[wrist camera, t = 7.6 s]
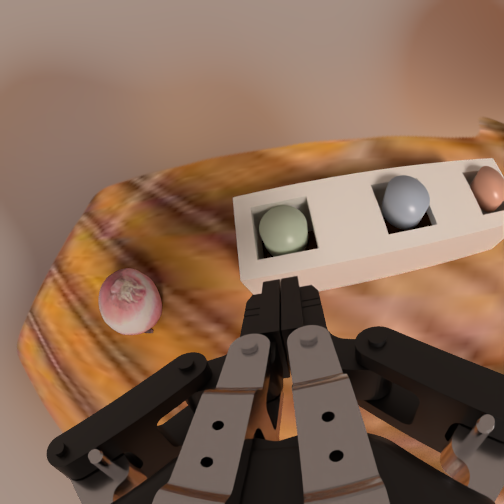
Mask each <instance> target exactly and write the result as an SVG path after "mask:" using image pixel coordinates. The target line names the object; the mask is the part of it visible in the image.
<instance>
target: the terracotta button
mask: <svg viewBox="0 0 504 504" xmlns="http://www.w3.org/2000/svg"><path fill="white" fill-rule="evenodd" d="M470 188H471V190H472V192H473V194H474V196H475V198H476V201H477V203H478V205H479V207H480V208H481V209H482V210H484V211H486V212H494V211H495V210H496V209H497V208H498V207H499V206H500V204H501V203H502V202H503V201H504V178H503V177H502V175H501V174H500V173H499V172H498V171H496V170H495V169H494V168H492V167H489V166H483V167H481V168H480V170H479V171H478V173H477V175H476V176H475V178H474V179H473V181H472V183H471V185H470Z"/></svg>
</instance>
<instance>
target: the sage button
mask: <svg viewBox="0 0 504 504" xmlns="http://www.w3.org/2000/svg"><path fill="white" fill-rule="evenodd" d="M259 232H260V235H261V238H262V240H263V242H264V244H265V246H266V249H267V250H268V252H269V253H270V254H271V255H272V256H274V257H276V256H281V255H286V254H291V253H297V252H302V251H304V250H305V248H306V247H307V244H308V229H307V221H306V218H305V216H304V215H303V214H302V212H300V211H299V210H298V209H296V208H294V207H291V206H278V207H275V208H272V209H270V210H269V211H268V212H267V213H265V215H264V216H263V217H262V219H261V221H260V225H259Z"/></svg>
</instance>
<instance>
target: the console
mask: <svg viewBox="0 0 504 504" xmlns="http://www.w3.org/2000/svg"><path fill="white" fill-rule="evenodd" d="M483 166H489V167H492V168H494V169H495V170H496V171H498V172H499V173H500V174H501V175H502V173H501V171H500V169H499V168H498V166H497V164H496V163H495V161H494V159H493V158H489V159H474V160H460V161H449V162H438V163H429V164H420V165H411V166H403V167H395V168H388V169H381V170H374V171H367V172H361V173H354V174H348V175H342V176H336V177H330V178H325V179H319V180H314V181H308V182H303V183H298V184H293V185H288V186H283V187H278V188H273V189H268V190H264V191H259V192H254V193H250V194H246V195H241V196H237V197H233V206H234V217H235V227H236V238H237V249H238V259H239V269H240V279H241V282H242V283H243V284H244V285H245V286H246V287H247V288H248V289H249V290H250V291H251V292H252V293H253V294H254V295H255V294H261V293H262V285H263V282H265V281H271V280H277V279H280V281H281V279H282V278H288V277H293V276H298V281H299V286H300V287H302V286H307V285H312V286H314V287H315V288H316V289H317V290H318V291H323V290H328V289H333V288H338V287H343V286H348V285H353V284H357V283H362V282H367V281H371V280H376V279H380V278H385V277H389V276H393V275H397V274H402V273H406V272H410V271H414V270H418V269H422V268H426V267H430V266H434V265H437V264H441V263H445V262H449V261H452V260H456V259H459V258H463V257H466V256H470V255H473V254H477V253H480V252H483V251H487V250H490V249H492V248H493V247H495V246H496V245H497V244H498V243H499V242H501V241H502V240H503V239H504V201H503V202H502V203H501V204H500V206H499V207H498V208H497V209H496V210H495V211H494V212H486V211H484V210H482V209H481V208H480V207H479V205H478V203H477V201H476V198H475V196H474V194H473V192H472V190H471V188H470V185H471V183H472V181H473V179H474V178H475V176H476V175H477V173H478V171H479V170H480V168H481V167H483ZM400 175H406V176H411V177H413V178H415V179H417V180H418V181H420V182H421V183H422V184H423V185H424V186H425V188H426V189H427V191H428V193H429V197H430V204H429V207H428V209H427V214H428V216H429V219H430V221H431V224H432V226H428V227H423V228H418V229H413V230H408V231H403V232H398V233H393V234H388V231H387V228H386V225H385V222H384V219H383V217H384V215H383V213H382V208H381V205H382V201H383V198H384V195H385V191H386V188H387V185H388V183H389V181H390V180H391V179H392V178H394V177H396V176H400ZM502 177H503V175H502ZM503 178H504V177H503ZM278 206H291V207H294V208H296V209H298V210H299V211H300V212H302V214H303V215H304V216H305V218H306V221H307V229H308V231H313V230H314V233H315V238H316V242H317V247H318V248H317V249H312V250H307V251H302V252H297V253H291V254H286V255H281V256H276V257H270V258H265V259H264V254H263V246H262V238H261V235H260V232H259V225H260V221H261V219H262V217H263V216H264V215H265V213H267V212H268V211H269V210H270V209H272V208H275V207H278Z"/></svg>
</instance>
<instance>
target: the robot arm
mask: <svg viewBox="0 0 504 504" xmlns="http://www.w3.org/2000/svg"><path fill="white" fill-rule="evenodd" d="M290 371H291V375H292V382H293V385H292V392H293V400H294V408H295V417H296V425H297V434H298V435H297V436H294V437H291V438H288V439H284V440H281V441H279V431H280V423H281V415H282V406H283V397H284V393H283V378H288V377H290ZM184 401H186V403H187V404H188V406H187V407H185V408H184V409H183V410H182V411H180V412H179V413H178V414H176V415H175V416H174V417H172V418H171V419H170V420H168V421H167V422H166V423H164V424H163V425H160V426H157V423H158V421H159V420H160V419H161V418H162V417H164V416H165V415H166V414H168V413H169V412H170V411H172V410H173V409H174V408H176V407H177V406H178V405H180V404H181V403H182V402H184ZM358 405H359V406H360V407H362V408H364V409H365V410H367V411H368V412H370V413H372V414H373V415H375V416H376V417H378V418H380V419H381V420H383V421H385V422H386V423H388V424H390V425H391V426H393V427H395V428H397V429H398V430H400V431H402V432H404V433H405V434H407V435H409V436H411V437H412V438H414V439H416V440H418V441H420V442H421V443H423V444H425V445H427V446H429V447H431V448H433V449H434V450H436V451H438V452H440V453H441V456H440V463H441V466H442V468H443V470H444V471H445V472H447V473H448V474H449V475H450V476H451V477H452V478H451V477H449V476H447V475H446V474H444V473H442V472H440V471H439V470H437V469H435V468H434V467H432V466H430V465H428V464H427V463H425V462H424V461H422V460H420V459H419V458H417V457H415V456H414V455H412V454H411V453H409V452H407V451H406V450H404V449H403V448H401V447H400V446H398V445H397V444H395V443H394V442H392V441H390V440H388V439H386V438H384V437H381V436H378V435H374V434H369V433H367V432H366V429H365V425H364V422H363V419H362V416H361V413H360V410H359V406H358ZM47 459H48V461H49V463H50V464H51V465H52V466H54V467H55V468H56V469H58V470H59V471H60V472H62V473H63V474H64V475H65V476H66V477H67V478H69V479H70V480H71V482H72V484H73V486H74V488H75V490H76V493H77V495H78V497H79V499H80V501H81V503H82V504H495V503H494V502H495V500H496V498H497V497H498V495H499V493H500V491H501V490H502V488H503V486H504V375H503V374H501V373H498V372H495V371H493V370H490V369H488V368H485V367H483V366H480V365H478V364H475V363H473V362H470V361H468V360H465V359H463V358H460V357H458V356H455V355H453V354H450V353H448V352H445V351H443V350H440V349H438V348H435V347H433V346H430V345H428V344H426V343H423V342H421V341H418V340H416V339H413V338H411V337H409V336H406V335H404V334H401V333H399V332H397V331H394V330H392V329H389V328H386V327H380V326H378V327H371V328H368V329H365V330H363V331H362V332H360V333H359V334H358V336H357V337H356V339H342V338H338V337H336V336H334V335H332V334H331V333H330V332H329V331H328V330H327V327H326V322H325V318H324V313H323V309H322V305H321V301H320V296H319V292H318V290H317V289H316V288H315V287H314V286H312V285H307V286H302V287H300V286H299V281H298V276H293V277H288V278H282V279H281V281H280V279H277V280H271V281H265V282H263V285H262V293H261V294H255V295H252V296H251V298H250V299H249V300H248V301H247V303H246V309H245V314H244V319H243V324H242V330H241V335H240V338H238V339H236V340H235V341H234V342H233V343H232V344H231V345H230V348H229V350H228V353H227V355H225V356H222V357H219V358H216V359H213V360H210V361H207V360H206V358H205V356H203V355H202V354H200V353H195V352H193V353H186V354H183V355H181V356H179V357H177V358H176V359H174V360H173V361H172V362H170V363H169V364H167V365H166V366H164V367H163V368H162V369H160V370H159V371H157V372H156V373H154V374H153V375H152V376H150V377H149V378H147V379H146V380H144V381H143V382H141V383H140V384H139V385H137V386H136V387H134V388H133V389H131V390H130V391H128V392H127V393H125V394H124V395H122V396H121V397H119V398H118V399H116V400H115V401H113V402H112V403H110V404H109V405H107V406H106V407H104V408H102V409H101V410H99V411H98V412H96V413H95V414H93V415H92V416H90V417H88V418H87V419H85V420H84V421H82V422H81V423H79V424H77V425H76V426H74V427H73V428H71V429H69V430H68V431H66V432H64V433H63V434H61V435H59V436H58V437H56V438H55V439H54V440H52V442H51V443H50V444H49V446H48V449H47Z"/></svg>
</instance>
